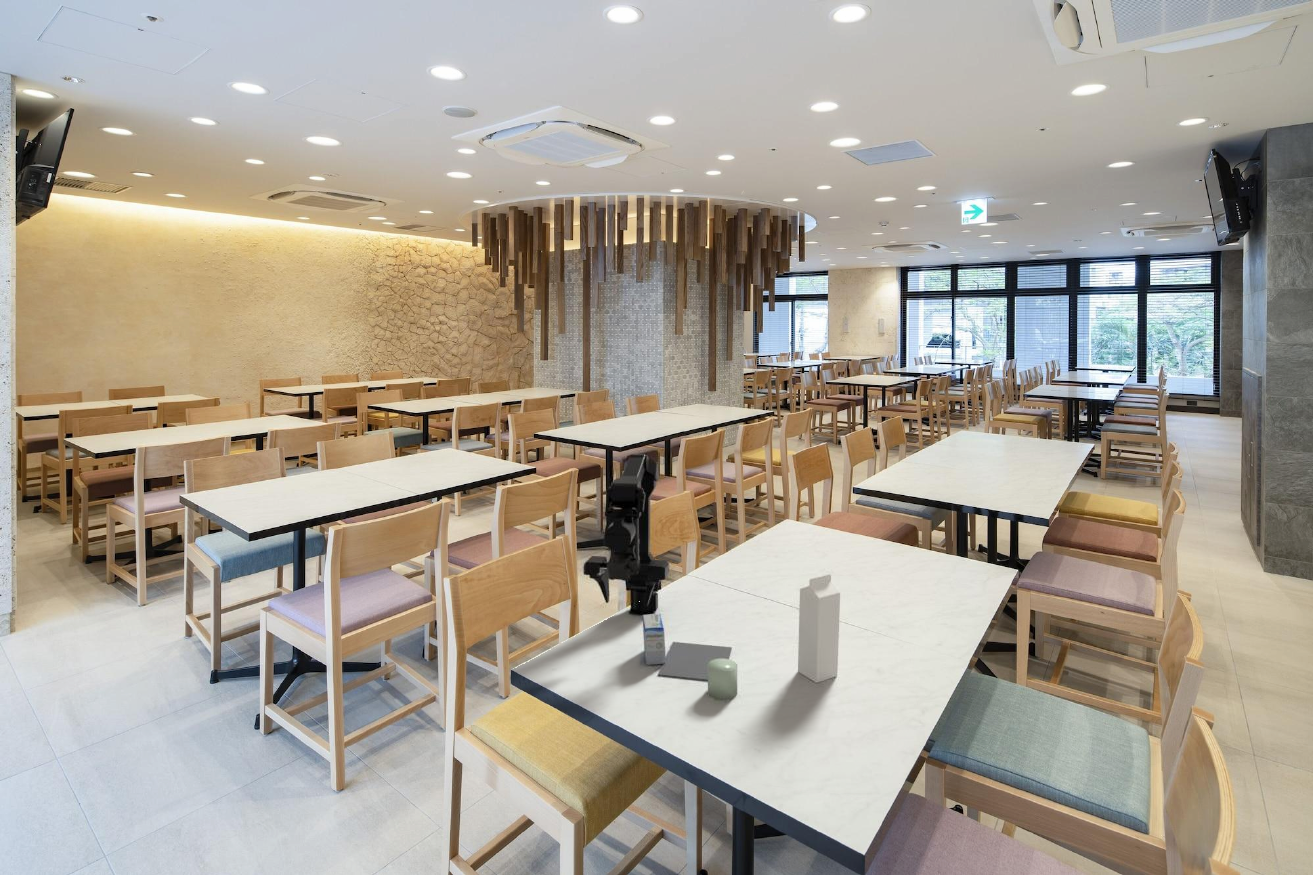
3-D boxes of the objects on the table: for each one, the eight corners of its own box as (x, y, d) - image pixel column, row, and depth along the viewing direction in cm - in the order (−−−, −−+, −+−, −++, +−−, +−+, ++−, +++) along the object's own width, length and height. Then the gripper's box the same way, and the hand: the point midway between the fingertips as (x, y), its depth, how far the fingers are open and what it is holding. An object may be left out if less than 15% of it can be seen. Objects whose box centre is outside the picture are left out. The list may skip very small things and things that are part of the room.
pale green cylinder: (705, 698, 139) (705, 670, 138) (710, 683, 145) (710, 657, 144) (735, 702, 138) (735, 674, 137) (738, 686, 144) (738, 659, 143)
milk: (837, 676, 148) (841, 578, 144) (816, 683, 145) (819, 583, 141) (817, 664, 153) (821, 569, 150) (796, 671, 150) (800, 574, 147)
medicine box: (644, 649, 161) (641, 614, 159) (663, 648, 161) (661, 612, 160) (646, 665, 153) (644, 628, 152) (666, 663, 153) (664, 626, 152)
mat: (657, 675, 149) (657, 674, 149) (672, 642, 164) (672, 641, 164) (722, 682, 146) (722, 681, 146) (731, 648, 161) (731, 647, 161)
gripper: (574, 545, 149) (576, 614, 151) (659, 550, 145) (660, 621, 147) (590, 531, 159) (591, 595, 162) (669, 535, 155) (669, 601, 158)
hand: (627, 603), depth 157 cm, fingers open, 9 cm apart
